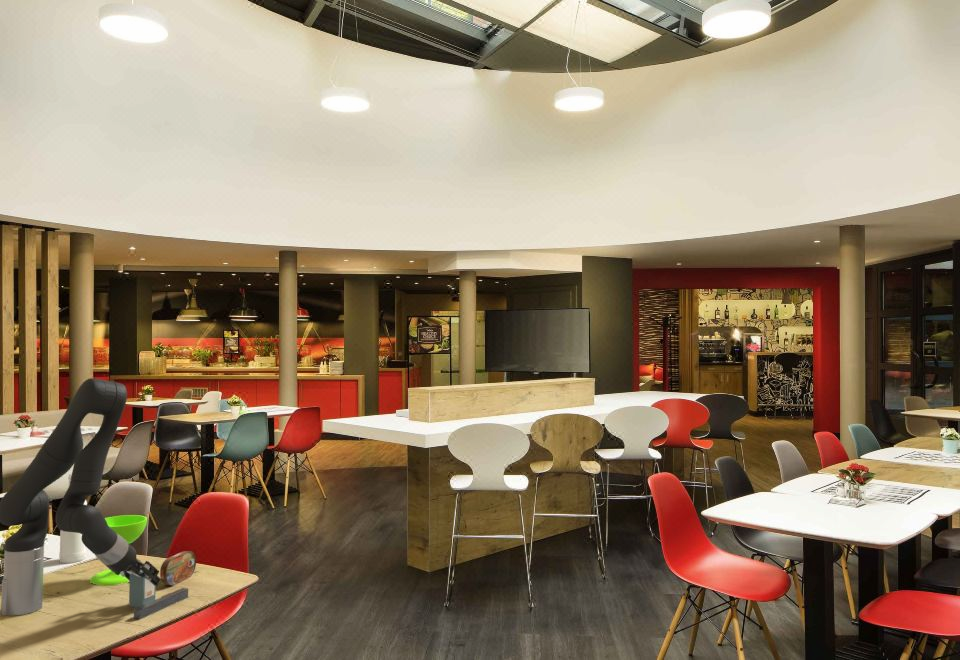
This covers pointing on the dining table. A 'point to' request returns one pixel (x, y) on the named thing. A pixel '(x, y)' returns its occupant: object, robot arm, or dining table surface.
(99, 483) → the robot arm
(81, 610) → the dining table surface
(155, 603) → the price rail
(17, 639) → the dining table surface
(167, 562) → the tin
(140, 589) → the carton
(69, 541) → the bottle
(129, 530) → the wineglass
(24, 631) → the dining table surface
